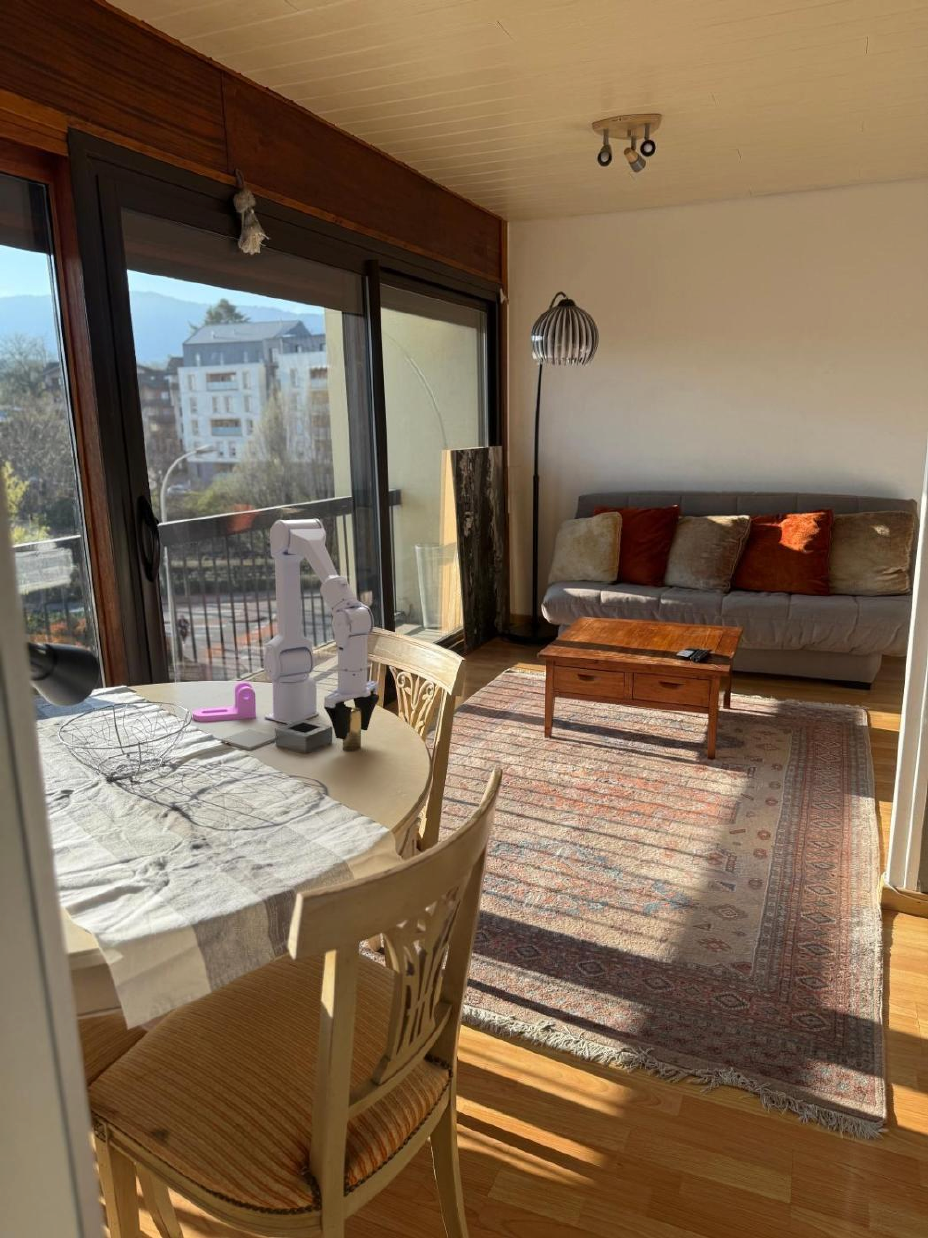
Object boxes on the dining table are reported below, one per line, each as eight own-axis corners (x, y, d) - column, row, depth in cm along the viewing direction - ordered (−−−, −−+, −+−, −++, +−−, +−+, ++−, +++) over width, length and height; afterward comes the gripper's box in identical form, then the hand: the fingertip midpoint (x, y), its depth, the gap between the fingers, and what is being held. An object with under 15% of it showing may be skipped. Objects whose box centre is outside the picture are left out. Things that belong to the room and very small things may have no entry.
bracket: (252, 710, 196) (251, 680, 195) (255, 718, 191) (255, 687, 190) (191, 715, 191) (190, 684, 190) (193, 723, 186) (193, 691, 185)
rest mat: (250, 731, 182) (250, 728, 181) (278, 739, 177) (278, 736, 177) (220, 742, 175) (220, 739, 175) (249, 750, 171) (249, 747, 171)
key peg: (350, 743, 176) (350, 706, 175) (364, 747, 175) (364, 709, 173) (338, 748, 173) (339, 710, 172) (353, 752, 172) (353, 713, 170)
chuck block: (302, 735, 181) (302, 718, 180) (332, 742, 177) (332, 726, 176) (275, 745, 174) (275, 728, 173) (305, 754, 170) (305, 737, 169)
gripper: (344, 678, 163) (344, 748, 165) (390, 663, 175) (389, 728, 177) (315, 672, 166) (315, 740, 169) (363, 658, 178) (362, 721, 181)
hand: (351, 733), depth 173 cm, fingers open, 6 cm apart
